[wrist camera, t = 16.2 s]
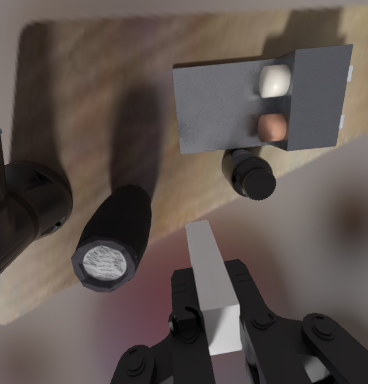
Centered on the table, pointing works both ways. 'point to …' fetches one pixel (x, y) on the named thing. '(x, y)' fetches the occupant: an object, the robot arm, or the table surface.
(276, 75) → the knob cream
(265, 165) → the supplement bottle
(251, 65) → the mount
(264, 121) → the knob terracotta
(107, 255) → the portable speaker
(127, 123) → the table surface
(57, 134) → the table surface
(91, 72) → the table surface
